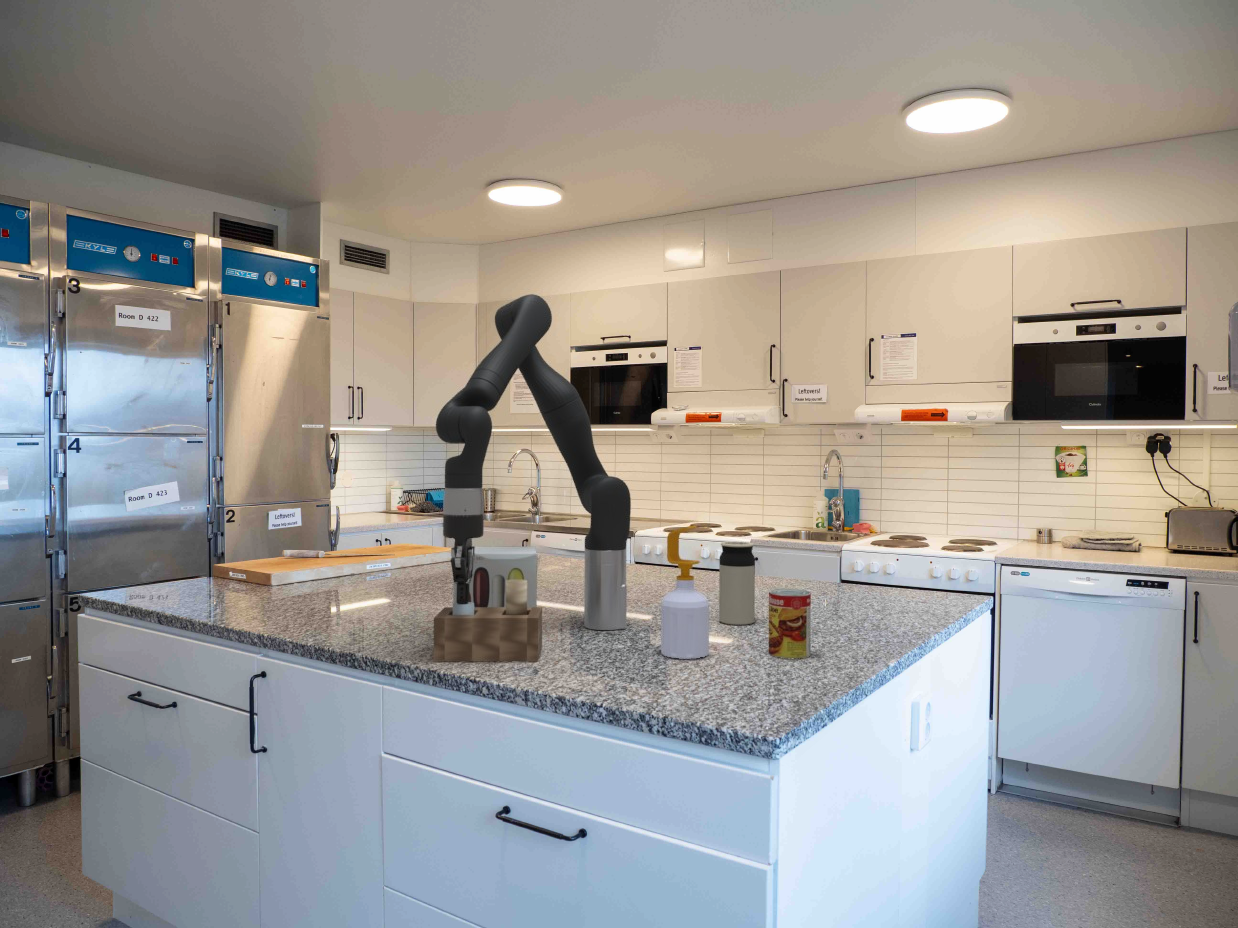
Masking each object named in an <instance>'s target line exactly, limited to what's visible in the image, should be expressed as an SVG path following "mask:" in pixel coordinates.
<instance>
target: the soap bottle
mask: <svg viewBox="0 0 1238 928" xmlns="http://www.w3.org/2000/svg"><path fill="white" fill-rule="evenodd" d="M696 528H697V525H691V526H689V525H688V526H686V527H682V528H678V529H676V530H671V531H670V532H669V533H668V534H667V537H666V540H667V541H666V544H667V545H666V559H667V562H668V563H670V564H671V565H677V568H678V569H680V575H676V585H675V586H676V587H675V588H674V589H673V590H671V591H670V592H668V593H667V594H666V595H665V596H663V598H662V601H661V602H660V603H661V605H660V607H661V611H660V612H661V613H660V614H661V616H660V617H661V618H660V620H661V621H660V627H661V628H660V634H661V636H660V641H661V642H660V644H661V645H660V650H661V655H663V656H665V657H666V656H667V657H666V658H669V657H672V658H671V659H673V658H679V659H678V660H683V659H690V660H692V659H691V658H700V657H703V658H705V656H706V657H707V656H708V655H710V654H709V653H710V650H709V649H710V604H709V601H708V599H707V597H706V596H705V595H704V594H702V593H701V592H700V591H698V590H696V588H695V577H694V576H693V575H691V574H690V569H693V566H694V565H698V564H700V560H692V559H691V560H690V559H682V558H681V557H680V554H679V553H680V551H679V550H680V549H679V548H680V545H679V544H680V541H679V540H680V535H681V534H682V533H683V532H686V531H689V530H692V529H696ZM700 659H701V658H700Z"/></svg>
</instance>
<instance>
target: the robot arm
mask: <svg viewBox="0 0 1238 928" xmlns="http://www.w3.org/2000/svg"><path fill="white" fill-rule="evenodd" d="M552 320H553V315H552V311H551V307H550V306H549V304H548V302H547V301H546V300H545V299H544V298H543V297H541V296H539V294H538V295H537V294H534V293H531V294H526V295H522V296H520V297H518V298H516V299H514V300H512V301H511V302H508V303H506V304H504V305H502V306H501V307H499V308H498V309H497V310H496V312H495V314H494V325H495V328H496V331H497V334H498V336H499V338H500V341H499V343H497V345H495V346H494V348H493V349H492V350H490V352H489V353H488V354H487V355H486V356H485V357H484V358H483V359H482V360H481V361H480V362H479V364H478V365H477V366H476V367H475V369H474V371H473V373H472V375H470V377H469V380H468V381H467V383H466V384H465V386H464V387H463V388H462V389H460V390H459V391H458V392H457V393H456V394H455V395H454V396H453V397H451V399H450V400H449V401H447V402H446V403H445V404H444V405H443V407H442V408H441V409H440V411H439V413H438V415H437V418H436V422H435V431H436V433H437V436H438V438H439V439H440V440H441V441H443V442H444V443H446V444H451V445H452V444H457V445H458V444H464V446H463V447H462V448H463V449H462V450H461V453H460V454H458V455H455V456H452V457H449V458H448V459H446V461H445V463H444V464H445V465H444V492H443V493H444V494H443V501H442V503H443V505H442V506H443V507H442V508H443V509H442V510H443V511H442V513H443V514H442V520H443V521H442V522H443V523H442V524H443V525H442V530H443V531H442V532H443V533H442V534H443V537H444V538H447V539H454V546H453V547H451V549H450V556H451V557H450V564H451V572H452V578H453V579H452V580H453V583H454V582H455V583H456V584H457V597H456V602H457V604H467V603H468V602H469V585H470V584H469V583H470V582H471V578H472V576H473V574H472V573H473V568H474V556H475V547H476V546H473V541H472V540H473V539H477V538H478V539H479V538H481V537H483V536H484V529H485V528H484V524H485V523H484V518H485V517H484V509H485V508H484V506H485V505H484V501H485V500H484V499H485V498H484V494H483V491H484V490H483V468H484V462H485V459H486V456H487V452H488V447H489V444H490V440H491V437H492V433H493V432H492V431H493V421H492V417H491V415H490V414H489V412H490V411H492V410H494V409H495V408H496V406H497V405H498V403H499V401H500V400H501V398H502V397H503V394H504V393H505V391H506V389H507V387H508V386H509V383H510V382H511V380H512V379H513V377H514V375H515V374H516V372H517V370H519V371H520V374H521V375H522V377H523V379H524V381H525V383H526V385H527V388H528V390H529V391H530V393H531V396H532V397H533V399H534V401H535V403H536V405H537V408H538V410H539V412H540V414H541V418H542V419H543V421H544V422H545V425H546V427H547V429H548V432H549V433H550V435H551V436H552V438H553V440H554V443H555V445H556V446H557V449H558V450H559V452H560V455H561V456H562V458H563V460H564V461H565V464H566V466H567V468H568V471H569V472H570V475H571V478H572V482H573V484H574V487H575V489H576V493H577V495H578V498H579V500H580V503H581V506H582V507H583V509H584V510H585V511H586V512H587V513H588V514H589V515H590V526H589V527H590V528H589V531H588V533H587V534H585V537H584V589H583V590H584V596H583V598H584V602H583V603H584V606H583V607H584V608H583V609H584V613H583V615H584V616H583V621H584V623H583V624H584V628H586V629H589V630H597V631H613V630H621V629H623V630H624V629H625V630H626V629H627V604H628V603H627V594H628V593H627V592H628V591H627V589H628V587H627V542H628V539H629V536H630V531H631V510H632V508H631V507H632V505H631V504H632V503H631V501H632V500H631V499H632V498H631V493H630V492H631V491H630V489H629V487H628V484H626V482H625V481H624V480H622V479H621V478H619V477H616V476H611V475H609V474H608V473H607V472H606V470H605V468H604V466H603V464H602V462H601V461H600V458H599V456H598V454H597V451H596V448H595V444H594V439H593V432H592V426H591V420H590V417H589V414H588V411H587V409H586V407H585V404H584V403H583V401H582V398H581V396H580V394H579V392H578V390H577V389H576V387H575V386H574V385H573V383H571V382H570V381H569V380H568V379H567V378H565V377H564V376H563V375H562V374H560V373H559V372H557V371H556V370H555V369H554V368H553V367H551V365H549V364H548V363H547V361H545V359H544V358H543V357H542V355H541V353H540V351H539V349H538V347H537V346H536V345H537V344H538V343H539V341H540V340H542V338H544V336H545V335H546V334H547V332H548V331H549V330H550V328H551V327H552V326H551V325H552Z"/></svg>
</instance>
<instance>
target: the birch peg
mask: <svg viewBox="0 0 1238 928" xmlns="http://www.w3.org/2000/svg"><path fill="white" fill-rule="evenodd" d="M506 615H527V580H523V579H512V580H506Z"/></svg>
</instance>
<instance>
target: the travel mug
mask: <svg viewBox="0 0 1238 928" xmlns="http://www.w3.org/2000/svg"><path fill="white" fill-rule="evenodd" d="M754 545H755V543H753V542H747V541H724V542H721V543H720V546H721V548H722V552H721V554H720V556H719V565H718V566H719V571H718V572H719V579H718V580H719V583H718V584H719V585H718V587H719V591H718V592H719V593H718V595H719V596H718V597H719V599H718V603H719V605H718V606H719V607H718V608H719V609H718V620H719V622H721V623H722V624H725V625H732V626H747V625H751V624H753V623H755V617H756V616H755V613H756V612H755V607H756V606H755V605H756V603H755V601H756V600H755V598H756V597H755V592H756V586H755V585H756V580H755V579H756V578H755V577H756V557H755V555H754V553H753V547H754Z"/></svg>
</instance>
